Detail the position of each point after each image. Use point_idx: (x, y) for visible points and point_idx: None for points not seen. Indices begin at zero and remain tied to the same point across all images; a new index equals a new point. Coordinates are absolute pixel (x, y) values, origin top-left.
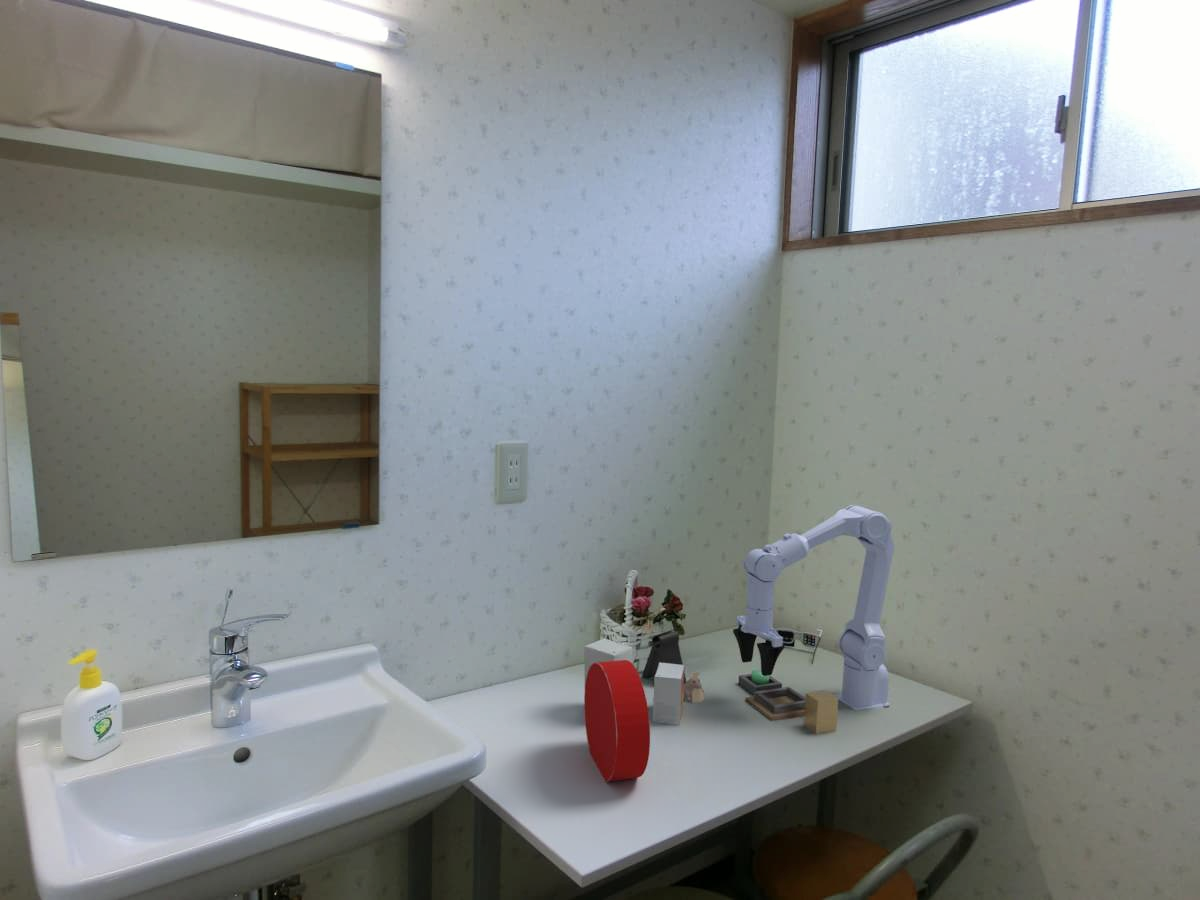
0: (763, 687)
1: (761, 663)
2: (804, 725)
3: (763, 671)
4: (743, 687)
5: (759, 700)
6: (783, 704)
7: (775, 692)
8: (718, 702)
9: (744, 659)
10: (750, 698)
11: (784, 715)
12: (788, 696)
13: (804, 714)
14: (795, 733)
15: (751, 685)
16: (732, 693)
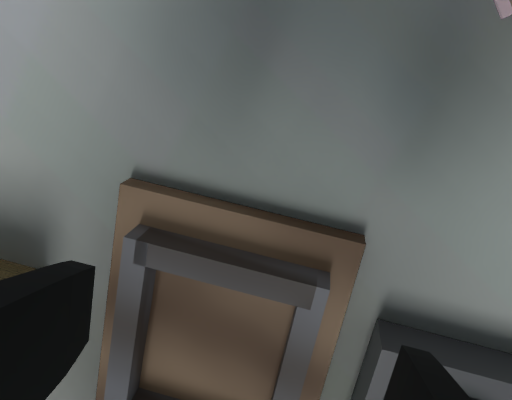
0: (366, 388)
1: (2, 297)
2: None
3: (40, 271)
4: (494, 352)
5: (276, 264)
6: (130, 296)
7: (277, 384)
8: (452, 101)
9: (404, 372)
10: (341, 258)
11: (112, 252)
12: None
13: None
14: (3, 184)
15: None
16: (487, 257)
